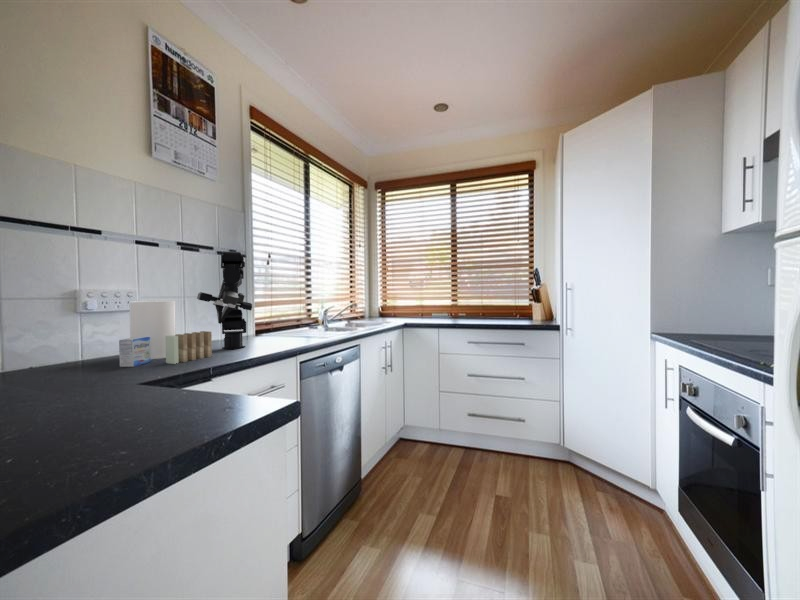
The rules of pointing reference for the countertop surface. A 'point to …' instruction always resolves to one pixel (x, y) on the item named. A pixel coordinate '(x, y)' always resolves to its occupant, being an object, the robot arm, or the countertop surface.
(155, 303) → the canister
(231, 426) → the countertop surface
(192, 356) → the tile
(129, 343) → the medicine box
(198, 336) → the tile
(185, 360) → the tile
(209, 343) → the tile
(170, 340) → the tile
